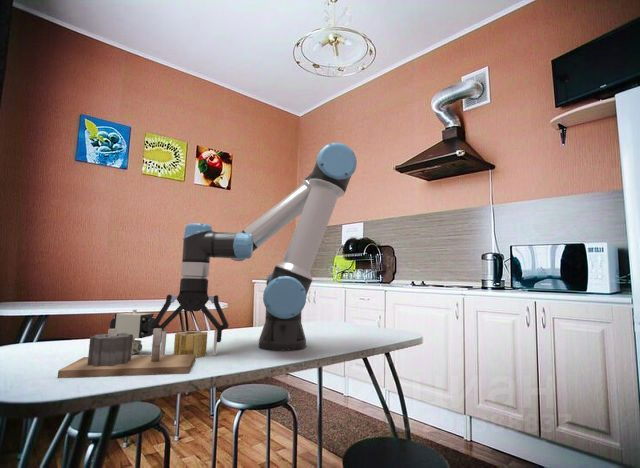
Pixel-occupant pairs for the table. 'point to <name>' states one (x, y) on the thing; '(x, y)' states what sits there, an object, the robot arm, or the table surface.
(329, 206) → the robot arm
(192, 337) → the brass gear
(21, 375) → the table surface
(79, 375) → the gear board
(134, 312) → the pneumatic valve
